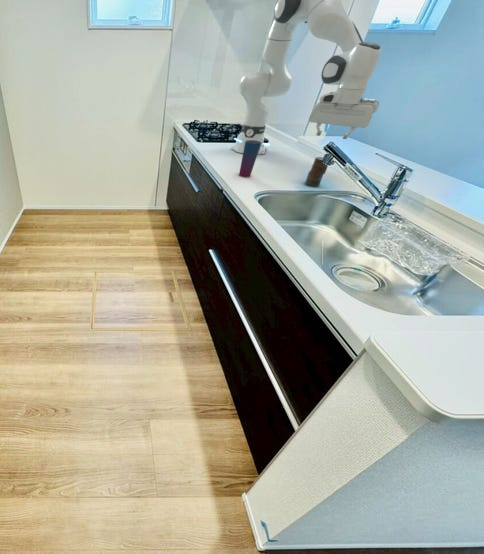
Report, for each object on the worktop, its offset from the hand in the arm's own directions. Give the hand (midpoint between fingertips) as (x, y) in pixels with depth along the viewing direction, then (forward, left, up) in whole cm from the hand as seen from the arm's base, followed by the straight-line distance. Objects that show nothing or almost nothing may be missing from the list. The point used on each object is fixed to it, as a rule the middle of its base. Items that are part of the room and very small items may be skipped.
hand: (331, 137), depth 120 cm
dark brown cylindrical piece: (0, 0, -20) cm, 20 cm away
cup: (+5, -28, -20) cm, 35 cm away
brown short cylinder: (0, 0, -11) cm, 11 cm away
